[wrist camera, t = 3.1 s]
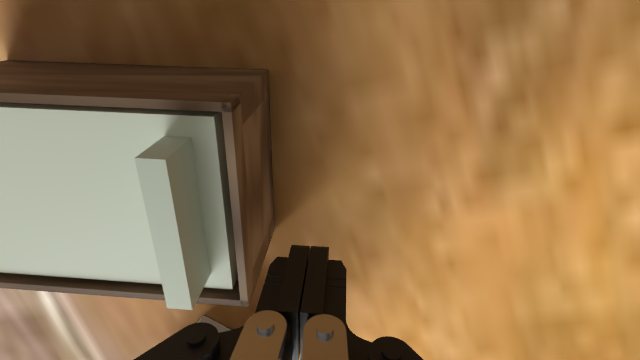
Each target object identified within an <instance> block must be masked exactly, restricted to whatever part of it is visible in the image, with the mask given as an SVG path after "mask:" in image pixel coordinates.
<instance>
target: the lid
mask: <svg viewBox="0 0 640 360" xmlns="http://www.w3.org/2000/svg"><path fill="white" fill-rule="evenodd" d="M0 272H2V273H16V274H29V275H43V276H57V277H70V278H84V279H97V280H111V281H125V282H138V283H152V284H162V287H163V292H164V296H165V301H166V305H167V308H172V309H184V310H193V308H194V306H195V304H196V302H197V300H198V298H199V296H200V294H201V292H202V290H203V288H204V287H206V288H220V289H233V288H234V285H235V283H236V280H237V278H238V273H237V263H236V253H235V242H234V232H233V222H232V212H231V202H230V192H229V182H228V171H227V161H226V151H225V141H224V131H223V121H222V112H213V111H191V110H168V109H145V108H122V107H100V106H77V105H54V104H32V103H9V102H0Z"/></svg>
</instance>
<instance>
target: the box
mask: <svg viewBox="0 0 640 360" xmlns="http://www.w3.org/2000/svg"><path fill="white" fill-rule="evenodd" d="M0 102H9V103H32V104H54V105H77V106H100V107H122V108H145V109H168V110H191V111H213V112H222V121H223V131H224V141H225V151H226V161H227V171H228V182H229V192H230V202H231V212H232V222H233V232H234V242H235V253H236V263H237V273H238V278H237V280H236V283H235V285H234V288H233V289H220V288H206V287H204V288H203V290H202V292H201V294H200V296H199V298H198V300H197V302H196V303H206V304H219V305H232V306H245V307H248V306H249V303H250V300H251V297H252V294H253V291H254V288H255V285H256V282H257V279H258V276H259V273H260V271H261V268H262V265H263V262H264V259H265V256H266V253H267V250H268V247H269V244H270V241H271V238H272V235H273V232H274V204H273V178H272V153H271V128H270V102H269V77H268V70H257V69H230V68H203V67H175V66H148V65H121V64H94V63H67V62H39V61H12V60H6V61H0ZM0 288H9V289H22V290H35V291H48V292H61V293H75V294H88V295H101V296H114V297H127V298H140V299H153V300H165V296H164V292H163V287H162V284H152V283H138V282H125V281H111V280H97V279H84V278H70V277H57V276H43V275H29V274H16V273H2V272H0Z"/></svg>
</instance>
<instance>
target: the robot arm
mask: <svg viewBox="0 0 640 360" xmlns="http://www.w3.org/2000/svg"><path fill="white" fill-rule="evenodd" d="M328 258H329V247H317V246H311V248H310V246H299V245H292V246H291V249H290V253H289V257H288V258H287V257H277V258H276V259H275V260H274V261H273V262H272V263H271V264H270V266H269V270H268V273H267V276H266V279H265V284H264V286H263V289H262V293H261V296H260V299H259V302H258V306H257V309H256V312H255V314H253V315H252V316H250V317H249V318H248V319H247V321H246V323H245V325H244V326H242V327H240V328H237V329H234V330H230V331H225V332H220V333H219V332H218V330H217V328H216V327H215V326H213V325H212V324H209V323H204V322H199V323H194V324H191V325H189V326H187V327H185V328H183V329H182V330H180V331H178V332H177V333H175V334H174V335H172V336H171V337H169V338H167V339H166V340H164V341H163V342H161V343H159V344H158V345H156V346H155V347H153V348H151V349H150V350H148V351H147V352H145V353H144V354H142V355H140V356H139V357H137V358H136V359H134V360H299V356H300V360H423V359H422V358H421V357H420V356H419V355H418V354H417V353H416V352H415V351H414V350H413V349H412V348H411V347H410V346H408V345H407V344H406V343H405V342H404V341H402V340H400V339H398V338H395V337H381V338H378V339H376V340H375V341H373V342H369V341H367V340H364V339H361V338H359V337H358V336H356V335H355V334H353V333H352V332H351V331H350V329H349V328H348V326H347V323H346V268H345V266H344V265H343V263H342V261H337V260H328Z"/></svg>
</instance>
